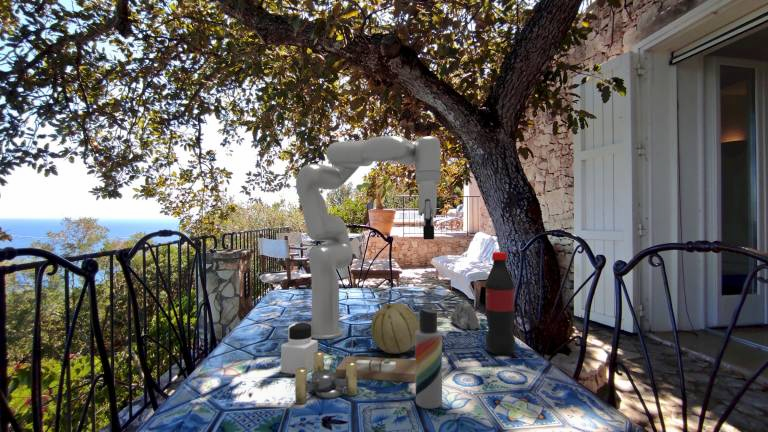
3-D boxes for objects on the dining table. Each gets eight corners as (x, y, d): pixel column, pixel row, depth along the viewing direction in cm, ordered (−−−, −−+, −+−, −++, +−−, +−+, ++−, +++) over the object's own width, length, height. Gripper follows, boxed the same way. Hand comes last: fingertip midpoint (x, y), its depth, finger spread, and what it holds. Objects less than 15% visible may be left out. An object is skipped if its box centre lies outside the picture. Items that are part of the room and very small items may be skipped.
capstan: (293, 403, 84) (293, 371, 84) (315, 378, 97) (315, 350, 97) (348, 408, 81) (348, 374, 82) (363, 382, 95) (363, 353, 95)
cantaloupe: (426, 348, 121) (426, 299, 121) (409, 363, 108) (409, 309, 108) (383, 342, 127) (383, 296, 128) (362, 356, 114) (362, 304, 114)
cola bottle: (511, 348, 121) (510, 251, 121) (518, 357, 112) (517, 252, 113) (483, 347, 121) (482, 250, 122) (488, 356, 113) (487, 252, 114)
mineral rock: (451, 321, 156) (450, 295, 156) (478, 322, 153) (478, 296, 153) (448, 329, 143) (448, 301, 143) (479, 331, 141) (478, 303, 141)
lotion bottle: (413, 397, 86) (413, 306, 87) (438, 396, 87) (438, 306, 87) (418, 410, 81) (417, 312, 81) (445, 408, 81) (444, 312, 82)
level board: (335, 377, 98) (335, 358, 98) (346, 363, 108) (346, 346, 108) (415, 382, 95) (414, 362, 95) (418, 367, 105) (418, 349, 105)
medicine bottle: (318, 366, 106) (318, 322, 106) (304, 376, 99) (304, 328, 99) (295, 363, 108) (295, 320, 109) (280, 372, 101) (280, 326, 102)
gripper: (417, 181, 126) (418, 238, 125) (413, 175, 111) (414, 240, 111) (441, 181, 125) (441, 238, 124) (440, 175, 110) (441, 240, 110)
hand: (428, 239), depth 118 cm, fingers closed
